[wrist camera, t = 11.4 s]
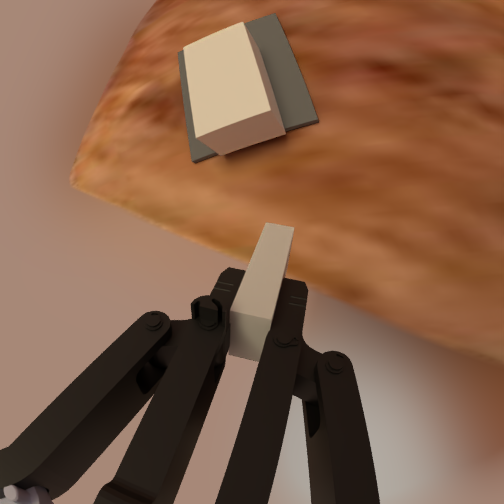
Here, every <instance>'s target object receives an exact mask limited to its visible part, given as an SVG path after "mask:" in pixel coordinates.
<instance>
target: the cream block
mask: <svg viewBox="0 0 504 504" xmlns="http://www.w3.org/2000/svg"><path fill="white" fill-rule="evenodd" d="M183 50H184V58H185V65H186V73H187V81H188V88H189V95H190V102H191V109H192V116H193V123H194V129H195V136H196V138H197V139H198V140H199V141H201V142H202V143H204V144H205V145H207V146H208V147H209V148H211V149H212V150H214V151H215V152H216V153H218V154H219V155H221V156H222V155H225V154H227V153H230V152H233V151H236V150H239V149H242V148H245V147H248V146H251V145H254V144H257V143H260V142H263V141H266V140H269V139H272V138H275V137H278V136H282V135H285V134H286V133H285V129H284V126H283V122H282V119H281V116H280V112H279V109H278V106H277V102H276V99H275V96H274V93H273V89H272V86H271V83H270V80H269V77H268V74H267V71H266V68H265V65H264V62H263V59H262V56H261V53H260V50H259V48H258V46H257V44H256V43H255V41H254V39H253V37H252V36H251V34H250V32H249V31H248V29H247V27H246V26H245V24H244V22H241V23H238V24H235V25H233V26H230V27H228V28H225V29H223V30H220V31H218V32H216V33H213V34H211V35H209V36H207V37H204V38H202V39H200V40H198V41H196V42H194V43H191V44H189V45H187V46H185V47H183Z"/></svg>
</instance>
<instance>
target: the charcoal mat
mask: <svg viewBox="0 0 504 504" xmlns="http://www.w3.org/2000/svg"><path fill="white" fill-rule="evenodd" d="M245 26H246V27H247V29H248V31H249V32H250V34H251V36H252V37H253V39H254V41H255V43H256V44H257V46H258V48H259V50H260V53H261V56H262V59H263V62H264V65H265V68H266V71H267V74H268V77H269V80H270V83H271V86H272V89H273V93H274V96H275V99H276V102H277V106H278V109H279V112H280V116H281V119H282V122H283V126H284V129H285V132H286V131H290V130H293V129H296V128H300V127H303V126H307V125H310V124H314V123H318V122H319V121H318V118H317V115H316V112H315V109H314V106H313V104H312V101H311V98H310V95H309V93H308V90H307V87H306V85H305V82H304V79H303V77H302V74H301V72H300V69H299V67H298V64H297V62H296V59H295V57H294V55H293V52H292V50H291V47H290V45H289V43H288V40H287V38H286V36H285V34H284V31H283V29H282V27H281V25H280V23H279V20H278V18H277V16H276V14H275V13H274V14H271V15H268V16H265V17H262V18H259V19H256V20H253V21H250V22H247V23H245ZM178 60H179V69H180V78H181V86H182V94H183V102H184V110H185V117H186V125H187V132H188V139H189V146H190V153H191V159H192V162H194V163H197V162H199V161H202V160H204V159H207V158H210V157H212V156H215V155H218V153H216V152H215V151H214V150H212V149H211V148H209V147H208V146H207V145H205V144H204V143H202V142H201V141H199V140H198V139H197V138H196V136H195V129H194V123H193V116H192V109H191V102H190V95H189V88H188V81H187V73H186V65H185V58H184V50H182V51H180V52H178Z"/></svg>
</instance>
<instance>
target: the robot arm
mask: <svg viewBox="0 0 504 504" xmlns="http://www.w3.org/2000/svg"><path fill="white" fill-rule="evenodd" d="M293 233H294V227H289V226H284V225H278V224H273V223H267V222H266V224H265V226H264V229H263V231H262V234H261V236H260V238H259V241H258V243H257V246H256V248H255V251H254V253H253V255H252V258H251V260H250V263H249V265H248V268H247V270H246V271H244V270H240V269H235V268H230V267H229V268H227V269H226V270H225V271H223V272H222V273H221V274H220V276H219V278H218V280H217V283H216V284H215V286H214V289H213V290H212V292H211V294H210V296H209V295H206V296H200V297H198V298H196V299H194V301H193V302H192V303H191V312H192V319H188V320H170V319H169V317H168V316H167V315H166V314H165V313H163V312H160V311H151V312H147V313H145V314H144V315H142V316H141V317H140V318H139V319H138V320H137V321H135V322H134V323H133V324H132V325H131V326H130V327H129V328H128V329H127V330H126V331H125V332H124V333H123V334H122V335H121V336H120V337H119V338H118V339H116V341H114V342H113V343H112V344H111V345H110V346H109V347H108V348H107V349H106V350H105V351H104V352H103V353H102V354H101V355H100V356H99V357H98V358H97V359H96V360H94V361H93V362H92V363H91V364H90V365H89V366H88V367H87V368H86V369H85V370H84V371H83V372H82V373H81V374H80V375H79V376H78V377H77V378H76V379H75V380H74V381H73V382H72V383H71V384H70V385H69V386H68V387H67V388H66V389H65V390H64V391H63V392H62V393H61V394H60V395H59V396H58V397H57V398H56V399H55V400H54V401H53V402H52V403H51V404H50V405H49V406H48V407H47V408H46V409H45V410H44V411H43V412H42V413H41V414H40V415H39V416H38V417H37V418H36V419H35V420H34V421H33V422H32V423H31V424H30V425H29V426H28V427H27V428H26V429H25V430H24V431H23V432H22V433H21V435H20V436H19V437H18V438H17V439H16V440H15V441H14V442H13V443H12V444H11V445H10V446H9V447H7V448H4V449H2V450H0V504H54V503H53V502H52V500H53V499H55V498H57V497H59V496H60V495H62V494H63V493H65V492H66V491H68V490H69V489H70V488H71V487H72V486H73V485H74V484H75V483H76V482H77V481H78V480H79V478H80V477H81V476H82V475H83V474H84V473H85V472H86V471H87V469H88V468H89V467H90V466H91V465H92V464H93V463H94V462H95V461H96V460H97V458H98V457H99V456H100V455H101V454H102V453H103V452H104V451H105V449H106V448H107V447H108V446H109V445H110V444H111V442H112V441H113V440H114V439H115V438H116V437H117V436H118V435H119V433H120V432H121V431H122V430H123V429H124V428H125V427H126V426H127V424H128V423H129V422H130V421H131V420H132V419H133V418H134V416H135V415H136V414H137V413H138V412H139V410H141V408H142V407H143V406H144V405H145V404H146V402H147V401H148V400H149V399H150V398H151V397H152V396H153V394H154V396H153V398H152V400H151V402H150V404H149V406H148V408H147V410H146V412H145V414H144V416H143V418H142V420H141V422H140V424H139V426H138V428H137V431H136V433H135V435H134V437H133V439H132V441H131V443H130V445H129V447H128V449H127V451H126V453H125V456H124V458H123V460H122V462H121V464H120V466H119V468H118V470H117V472H116V475H115V477H114V478H113V480H112V481H111V482H109V483H107V484H105V485H104V486H103V487H102V488H101V490H100V491H99V493H98V495H97V497H96V499H95V502H94V504H173V503H174V500H175V497H176V495H177V493H178V490H179V487H180V485H181V482H182V480H183V477H184V474H185V472H186V469H187V466H188V464H189V461H190V458H191V456H192V453H193V450H194V448H195V445H196V443H197V440H198V437H199V435H200V432H201V429H202V427H203V424H204V421H205V418H206V416H207V413H208V410H209V408H210V405H211V402H212V400H213V397H214V394H215V391H216V389H217V386H218V383H219V381H220V378H221V375H222V372H223V370H224V367H225V361H226V355H227V352H228V350H229V355H233V356H237V357H240V358H245V359H249V360H253V361H258V362H259V364H258V367H257V371H256V374H255V378H254V381H253V385H252V388H251V392H250V395H249V398H248V402H247V405H246V408H245V412H244V415H243V418H242V421H241V425H240V428H239V431H238V435H237V438H236V441H235V444H234V447H233V451H232V454H231V457H230V460H229V463H228V466H227V469H226V472H225V476H224V478H223V482H222V484H221V487H220V490H219V493H218V497H217V499H216V502H215V504H268V500H269V496H270V493H271V488H272V485H273V480H274V477H275V473H276V468H277V465H278V460H279V456H280V451H281V447H282V443H283V438H284V434H285V429H286V424H287V419H288V415H289V410H290V405H291V400H292V395H294V396H296V397H298V398H300V399H302V405H303V415H304V423H305V434H306V445H307V455H308V467H309V478H310V490H311V503H312V504H380V500H379V493H378V487H377V480H376V475H375V468H374V463H373V457H372V452H371V447H370V441H369V436H368V431H367V427H366V422H365V417H364V412H363V408H362V403H361V399H360V395H359V390H358V386H357V381H356V377H355V373H354V369H353V365H352V363H351V361H350V359H349V358H348V357H347V356H346V355H345V354H343V353H341V352H337V351H329V352H325V353H323V354H322V353H319V352H317V351H315V350H314V349H312V348H310V347H309V346H308V345H307V344H306V343H305V341H304V339H303V336H302V330H303V323H304V316H305V310H306V303H307V295H308V289H307V286H306V284H305V282H302V281H297V280H292V279H287V278H285V276H286V272H287V267H288V261H289V256H290V250H291V244H292V239H293Z"/></svg>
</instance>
